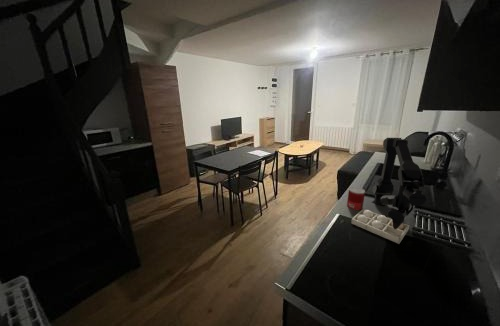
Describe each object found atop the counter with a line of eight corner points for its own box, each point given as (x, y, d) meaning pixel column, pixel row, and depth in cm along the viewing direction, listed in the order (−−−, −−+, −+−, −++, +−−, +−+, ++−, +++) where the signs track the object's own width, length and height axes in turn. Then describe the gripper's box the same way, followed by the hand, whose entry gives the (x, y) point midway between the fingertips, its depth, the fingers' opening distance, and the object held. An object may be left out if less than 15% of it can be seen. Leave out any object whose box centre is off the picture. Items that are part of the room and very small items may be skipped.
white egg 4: (377, 219, 104) (379, 212, 103) (388, 223, 101) (389, 215, 99) (374, 223, 101) (375, 215, 100) (384, 227, 98) (386, 219, 96)
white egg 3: (372, 225, 100) (374, 217, 99) (383, 229, 97) (385, 221, 95) (369, 229, 97) (370, 220, 96) (379, 233, 94) (381, 225, 92)
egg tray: (362, 213, 111) (363, 208, 110) (408, 231, 96) (409, 225, 95) (350, 224, 102) (351, 218, 101) (398, 244, 88) (400, 239, 87)
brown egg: (392, 225, 100) (394, 217, 98) (403, 229, 96) (405, 221, 95) (388, 229, 97) (390, 221, 95) (400, 233, 94) (402, 225, 92)
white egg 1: (358, 219, 105) (360, 211, 103) (368, 223, 101) (369, 215, 100) (354, 223, 102) (356, 215, 101) (364, 227, 99) (366, 219, 97)
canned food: (364, 211, 113) (367, 193, 109) (348, 210, 114) (351, 192, 111) (359, 204, 120) (362, 187, 116) (345, 203, 122) (347, 186, 118)
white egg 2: (364, 214, 109) (365, 207, 107) (373, 218, 106) (374, 210, 104) (360, 218, 106) (361, 210, 105) (370, 221, 103) (371, 213, 101)
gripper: (391, 183, 102) (385, 210, 107) (377, 195, 91) (371, 225, 95) (419, 190, 94) (411, 219, 99) (407, 204, 82) (399, 236, 87)
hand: (398, 224), depth 95 cm, fingers open, 9 cm apart
